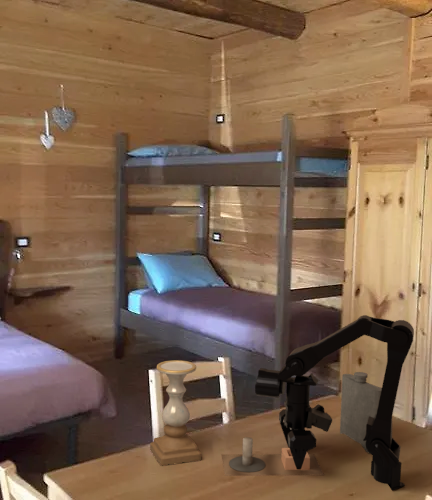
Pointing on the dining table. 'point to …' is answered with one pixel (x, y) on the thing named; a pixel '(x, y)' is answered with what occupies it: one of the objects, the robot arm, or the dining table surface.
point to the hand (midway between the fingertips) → (295, 461)
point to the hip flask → (357, 405)
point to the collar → (289, 461)
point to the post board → (262, 463)
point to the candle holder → (175, 418)
